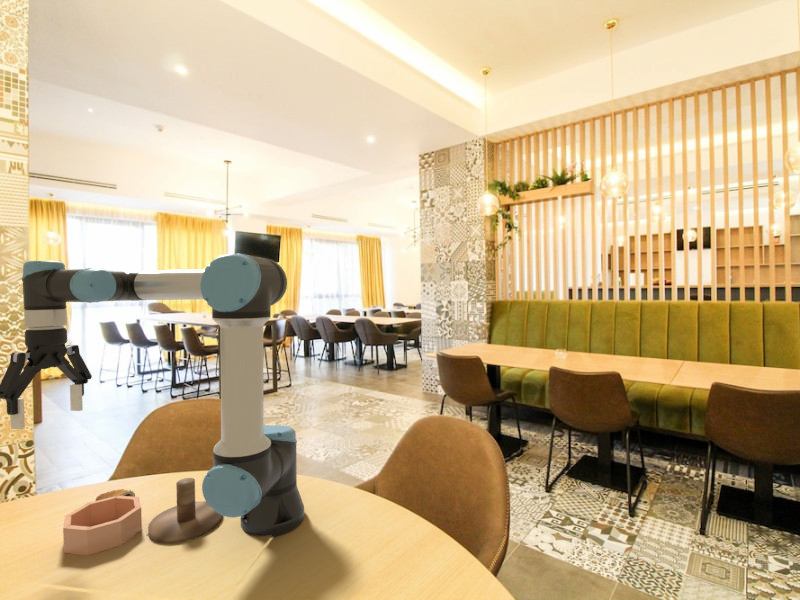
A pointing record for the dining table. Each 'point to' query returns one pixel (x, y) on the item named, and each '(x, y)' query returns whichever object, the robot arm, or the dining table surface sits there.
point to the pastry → (116, 494)
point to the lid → (184, 517)
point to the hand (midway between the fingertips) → (49, 419)
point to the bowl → (102, 525)
